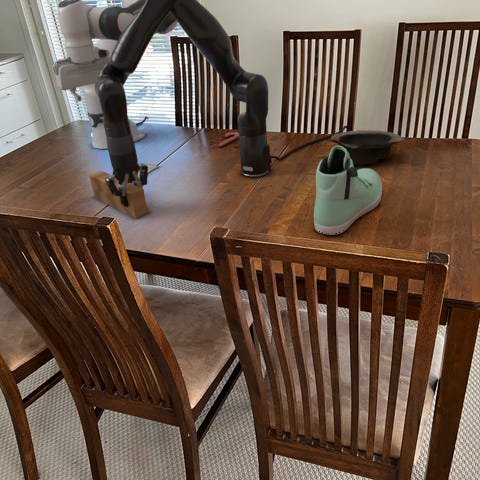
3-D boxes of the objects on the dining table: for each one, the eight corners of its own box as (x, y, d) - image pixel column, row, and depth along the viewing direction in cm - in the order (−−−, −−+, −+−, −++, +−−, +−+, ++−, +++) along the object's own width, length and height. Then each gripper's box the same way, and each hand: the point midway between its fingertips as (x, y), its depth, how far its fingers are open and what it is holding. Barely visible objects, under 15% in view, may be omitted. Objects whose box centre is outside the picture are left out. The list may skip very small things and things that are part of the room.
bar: (94, 197, 158) (88, 174, 153) (106, 192, 160) (101, 170, 156) (135, 218, 143) (130, 194, 139) (148, 213, 145) (143, 189, 141)
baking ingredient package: (112, 178, 168) (138, 163, 180) (113, 179, 168) (138, 164, 180) (133, 181, 165) (157, 165, 176) (133, 182, 165) (158, 166, 176)
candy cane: (208, 146, 191) (208, 142, 190) (230, 134, 201) (230, 130, 201) (220, 148, 188) (220, 144, 187) (242, 136, 198) (242, 132, 197)
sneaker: (389, 187, 148) (396, 123, 138) (356, 242, 123) (361, 168, 112) (346, 181, 154) (350, 119, 144) (306, 232, 129) (307, 161, 118)
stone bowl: (361, 175, 156) (361, 148, 152) (316, 158, 177) (315, 133, 172) (418, 157, 165) (419, 130, 161) (369, 142, 185) (369, 118, 181)
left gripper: (56, 62, 148) (67, 106, 155) (113, 49, 159) (121, 91, 167) (47, 60, 151) (58, 103, 159) (103, 48, 163) (111, 89, 171)
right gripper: (107, 160, 129) (119, 215, 138) (150, 144, 138) (159, 197, 147) (92, 154, 134) (106, 208, 143) (135, 139, 142) (145, 191, 151)
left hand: (91, 97), depth 163 cm, fingers open, 8 cm apart
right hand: (133, 202), depth 145 cm, fingers closed on bar, 4 cm apart
